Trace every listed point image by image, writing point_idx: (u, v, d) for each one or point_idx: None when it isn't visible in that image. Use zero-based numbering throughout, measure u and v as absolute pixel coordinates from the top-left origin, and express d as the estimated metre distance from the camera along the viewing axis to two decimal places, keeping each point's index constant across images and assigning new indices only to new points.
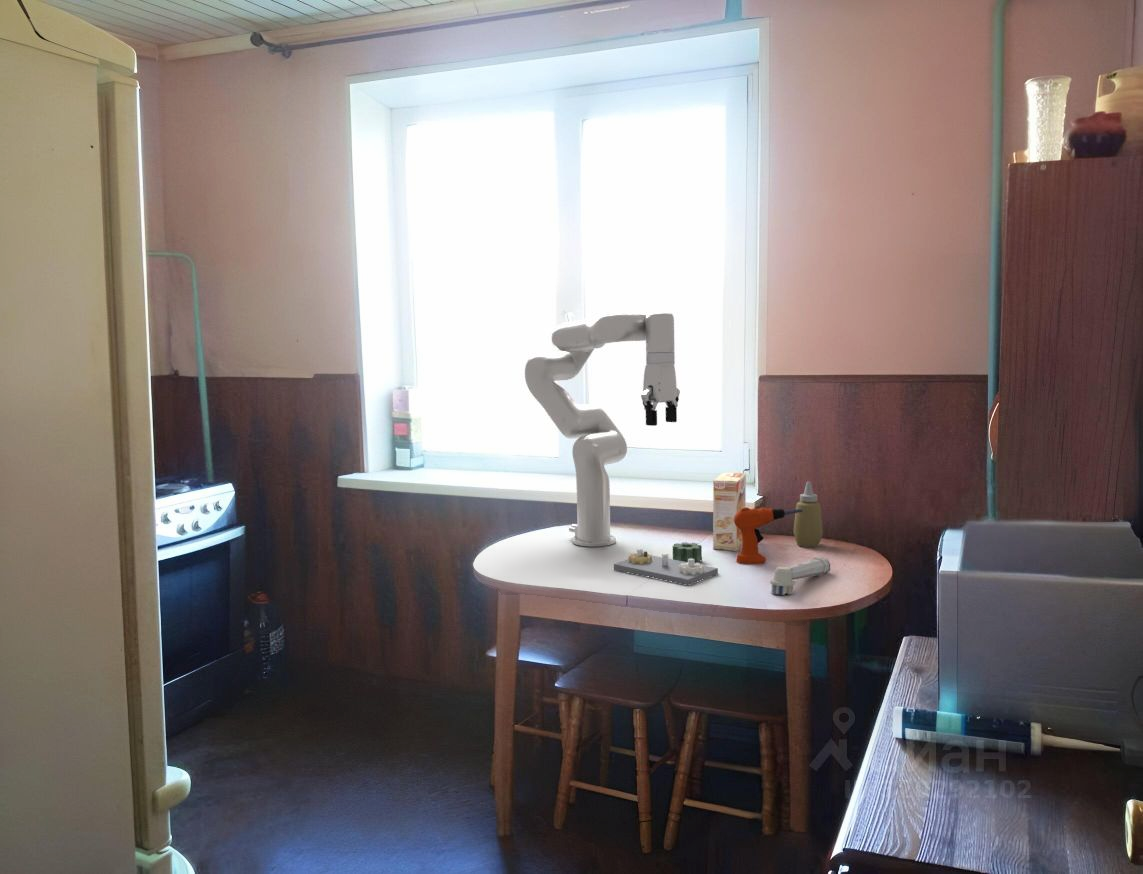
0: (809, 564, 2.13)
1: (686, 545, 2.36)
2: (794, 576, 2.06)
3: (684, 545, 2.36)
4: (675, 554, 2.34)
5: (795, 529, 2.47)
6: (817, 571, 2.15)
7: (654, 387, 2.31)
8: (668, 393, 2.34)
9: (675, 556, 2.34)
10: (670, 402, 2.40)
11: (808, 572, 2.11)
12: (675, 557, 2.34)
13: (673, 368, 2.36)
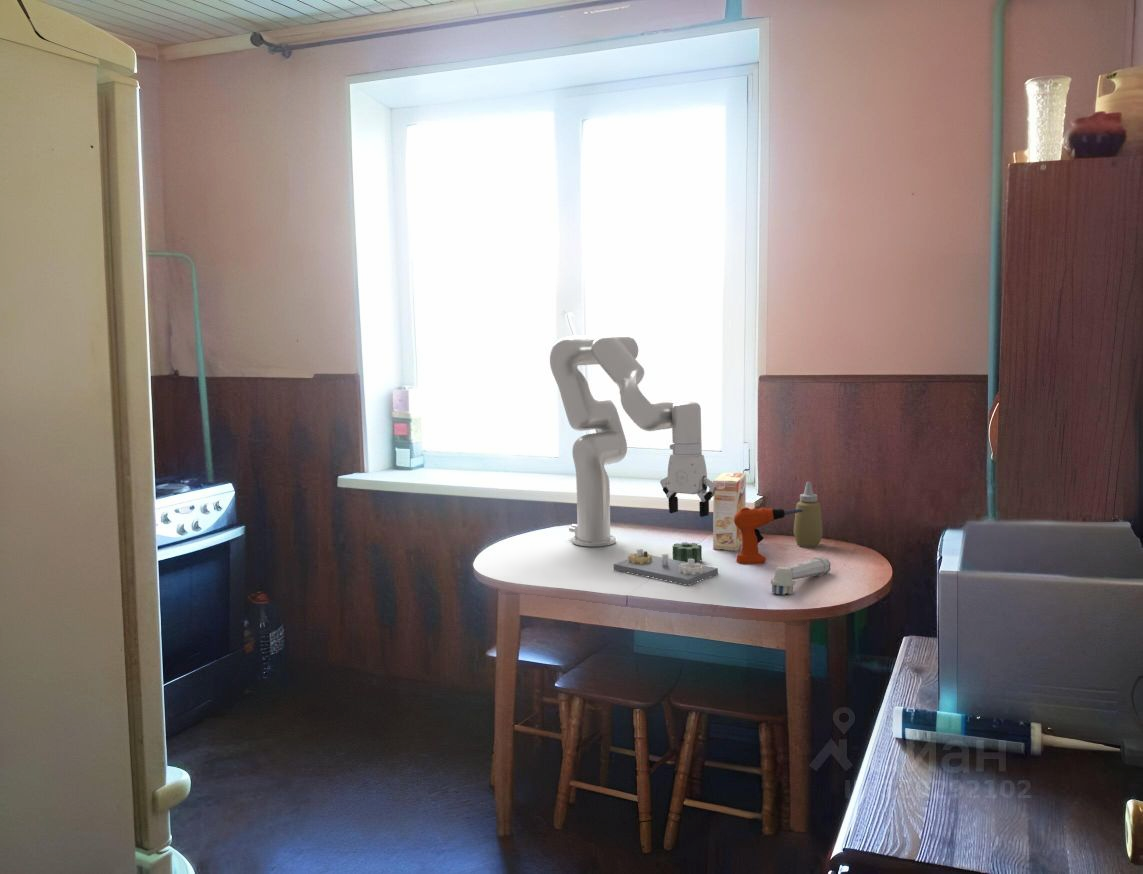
0: (809, 564, 2.13)
1: (686, 545, 2.36)
2: (794, 576, 2.06)
3: (684, 545, 2.36)
4: (675, 554, 2.34)
5: (795, 529, 2.47)
6: (817, 571, 2.15)
7: (706, 477, 2.29)
8: None
9: (675, 556, 2.34)
10: None
11: (808, 572, 2.11)
12: (675, 557, 2.34)
13: None
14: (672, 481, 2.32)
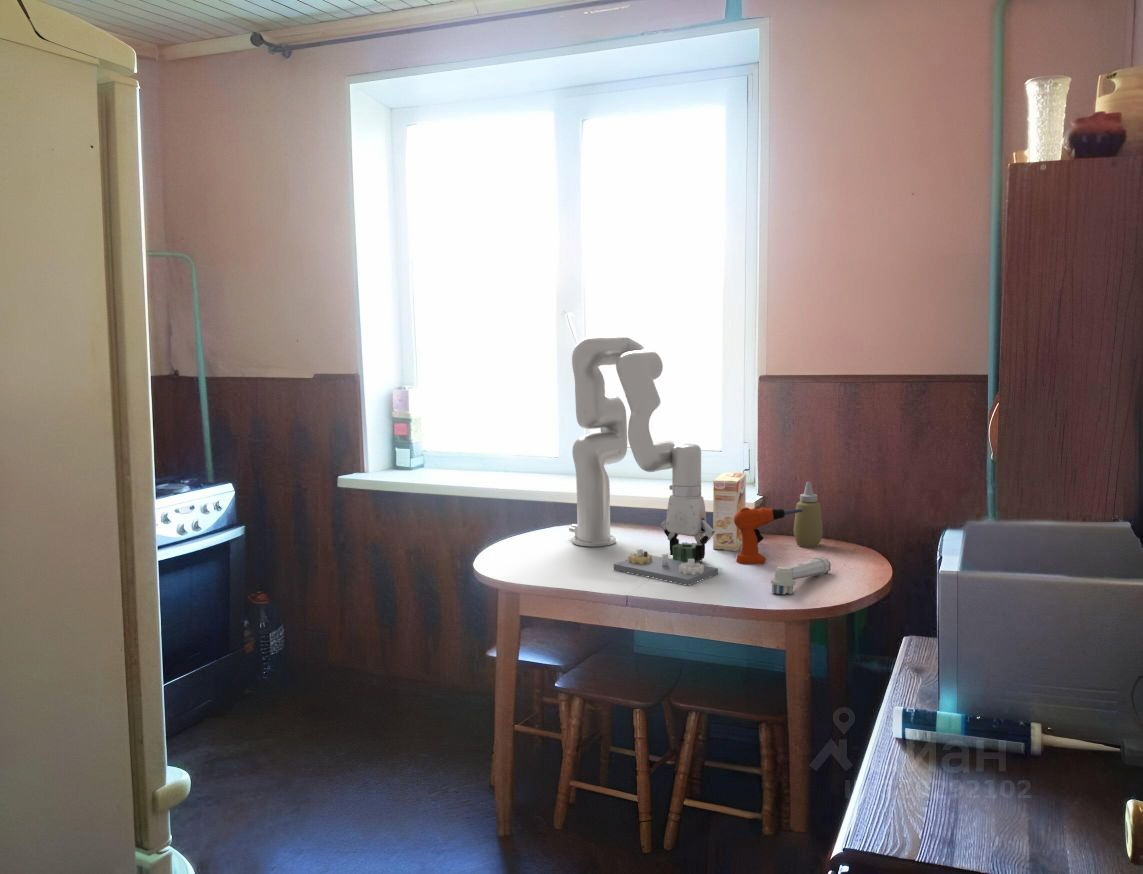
0: (809, 564, 2.13)
1: (686, 545, 2.36)
2: (795, 576, 2.06)
3: (684, 545, 2.36)
4: (675, 554, 2.34)
5: (795, 529, 2.47)
6: (817, 571, 2.15)
7: (705, 519, 2.31)
8: None
9: (675, 556, 2.34)
10: None
11: (808, 572, 2.11)
12: (675, 557, 2.34)
13: None
14: (671, 522, 2.33)
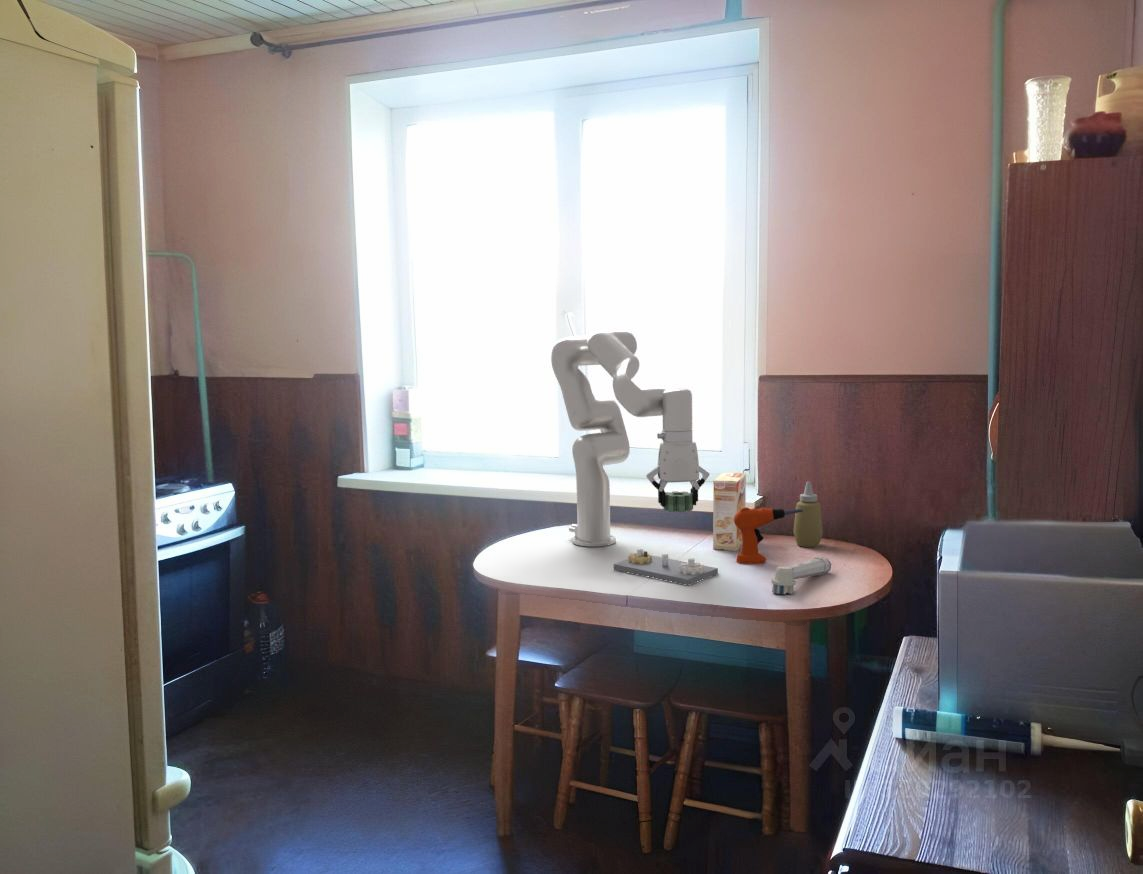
0: (810, 564, 2.13)
1: (673, 494, 2.29)
2: (795, 576, 2.06)
3: (672, 494, 2.29)
4: (674, 504, 2.25)
5: (795, 529, 2.47)
6: (818, 571, 2.15)
7: None
8: None
9: (674, 506, 2.25)
10: None
11: (809, 572, 2.12)
12: (674, 507, 2.25)
13: None
14: (669, 471, 2.24)
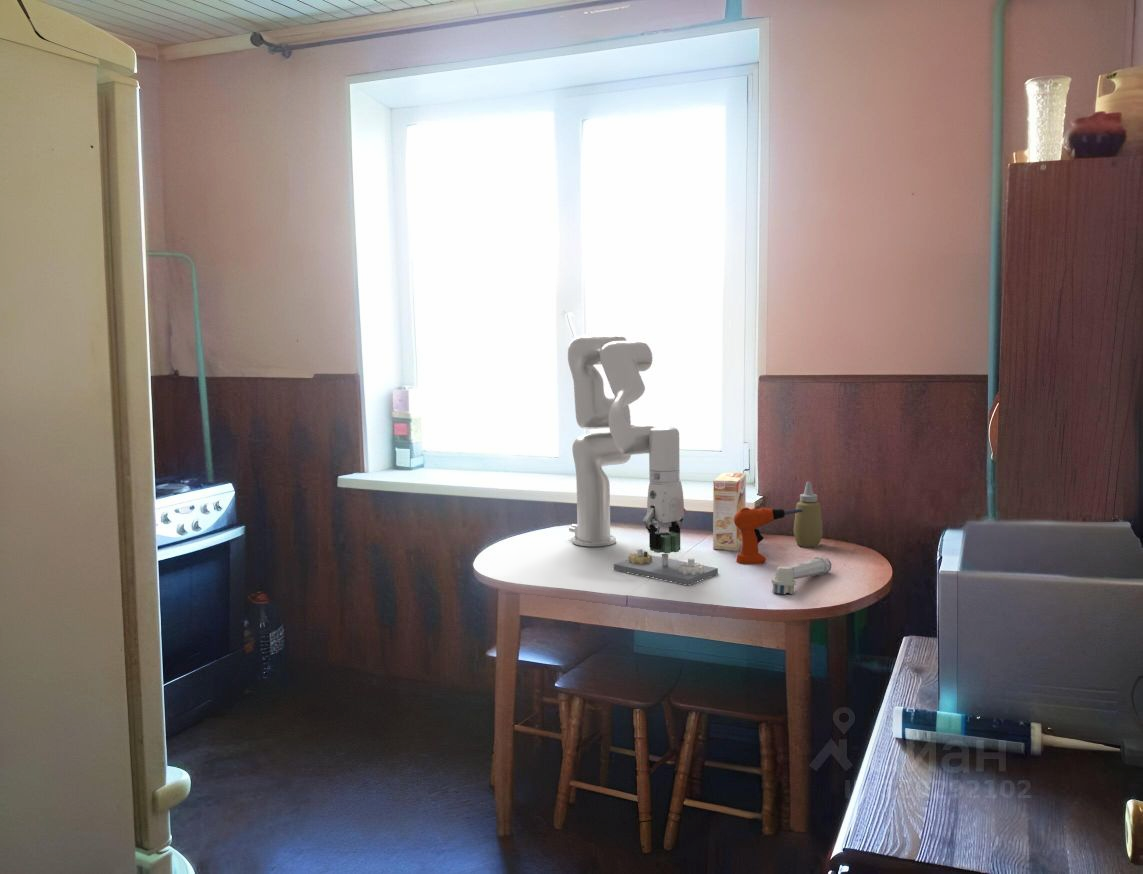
0: (810, 564, 2.13)
1: None
2: (795, 575, 2.06)
3: None
4: (669, 545, 2.20)
5: (795, 529, 2.47)
6: (818, 571, 2.15)
7: None
8: None
9: (669, 547, 2.20)
10: None
11: (809, 572, 2.12)
12: (669, 548, 2.20)
13: None
14: (666, 512, 2.18)
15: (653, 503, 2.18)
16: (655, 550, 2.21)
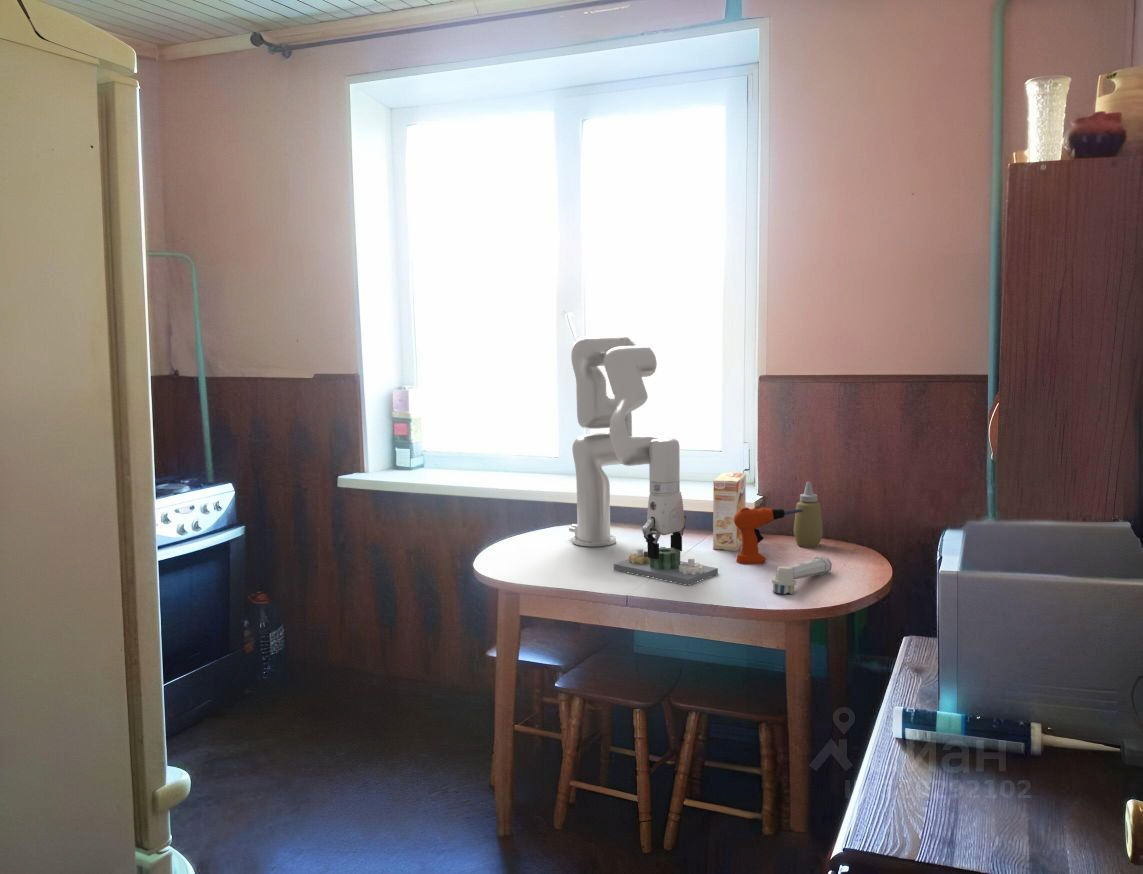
0: (810, 563, 2.14)
1: None
2: (796, 575, 2.07)
3: (659, 552, 2.23)
4: (669, 561, 2.21)
5: (795, 529, 2.47)
6: (818, 570, 2.15)
7: None
8: None
9: (669, 563, 2.21)
10: None
11: (809, 572, 2.12)
12: (669, 564, 2.21)
13: None
14: (666, 523, 2.19)
15: (653, 514, 2.19)
16: (655, 567, 2.21)
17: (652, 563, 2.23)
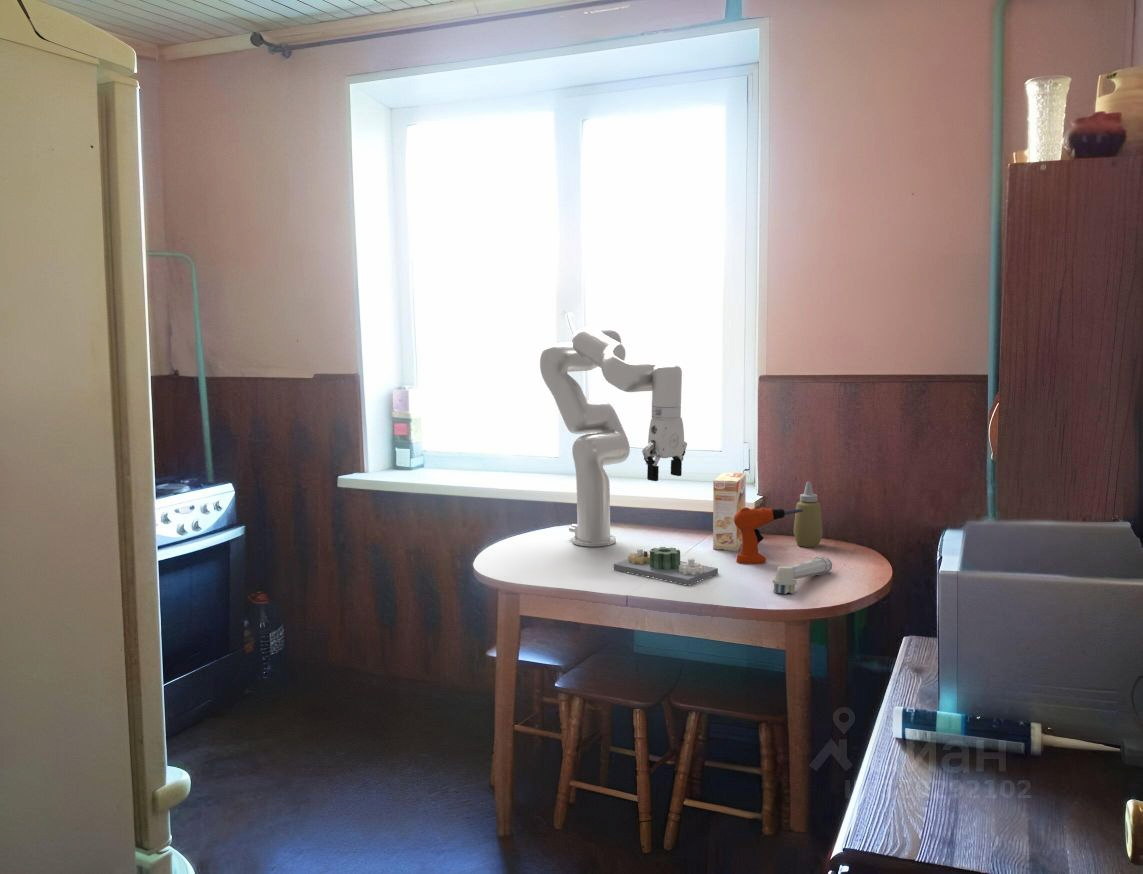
0: (811, 563, 2.14)
1: None
2: (796, 575, 2.07)
3: None
4: (669, 561, 2.21)
5: (795, 529, 2.47)
6: (819, 570, 2.15)
7: None
8: None
9: (669, 563, 2.21)
10: None
11: (810, 572, 2.12)
12: (669, 564, 2.21)
13: None
14: (666, 447, 2.26)
15: (654, 438, 2.26)
16: (655, 567, 2.21)
17: (652, 563, 2.23)
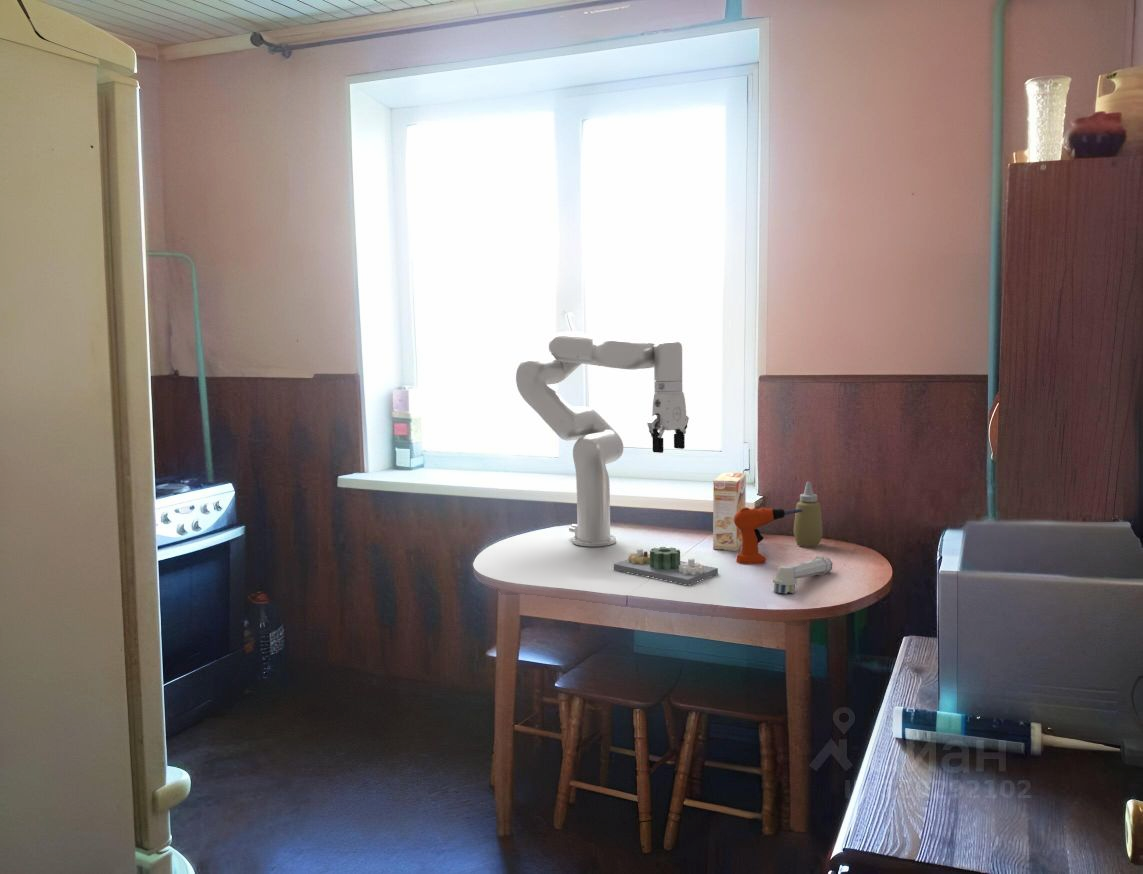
0: (811, 563, 2.14)
1: None
2: (796, 575, 2.07)
3: None
4: (669, 561, 2.21)
5: (795, 529, 2.47)
6: (819, 570, 2.16)
7: None
8: None
9: (669, 563, 2.21)
10: None
11: (810, 571, 2.12)
12: (669, 564, 2.21)
13: None
14: (670, 419, 2.36)
15: (658, 411, 2.36)
16: (655, 567, 2.21)
17: (652, 563, 2.23)
